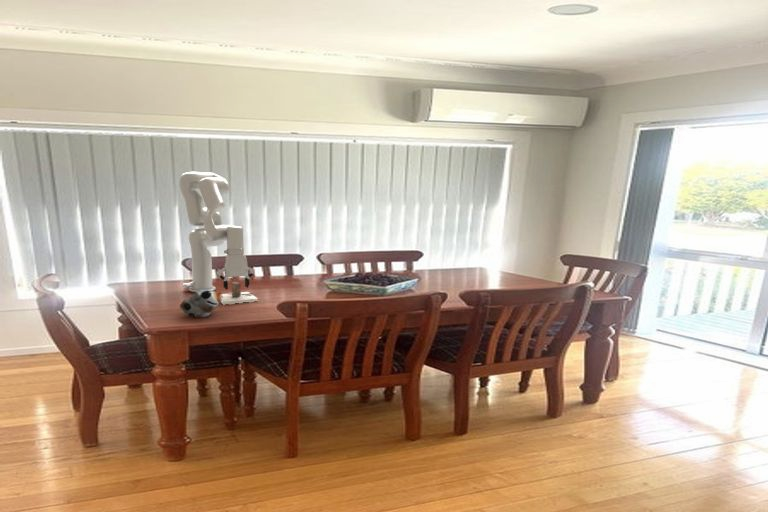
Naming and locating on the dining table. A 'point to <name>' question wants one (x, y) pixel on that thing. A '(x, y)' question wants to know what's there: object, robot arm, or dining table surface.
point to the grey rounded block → (201, 303)
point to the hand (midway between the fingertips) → (236, 288)
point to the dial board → (238, 298)
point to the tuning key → (237, 289)
